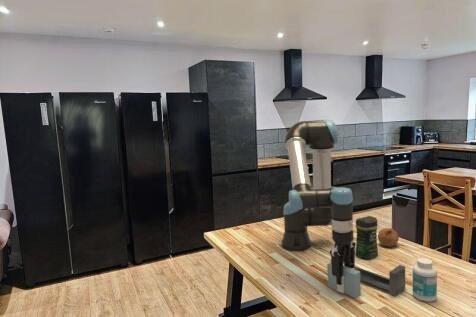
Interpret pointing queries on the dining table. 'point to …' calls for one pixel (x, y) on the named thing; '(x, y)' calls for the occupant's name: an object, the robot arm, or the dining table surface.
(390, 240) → the onion
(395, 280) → the floor track
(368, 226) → the coffee jar
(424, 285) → the pill bottle
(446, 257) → the dining table surface
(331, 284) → the gray rectangular block
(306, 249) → the robot arm
